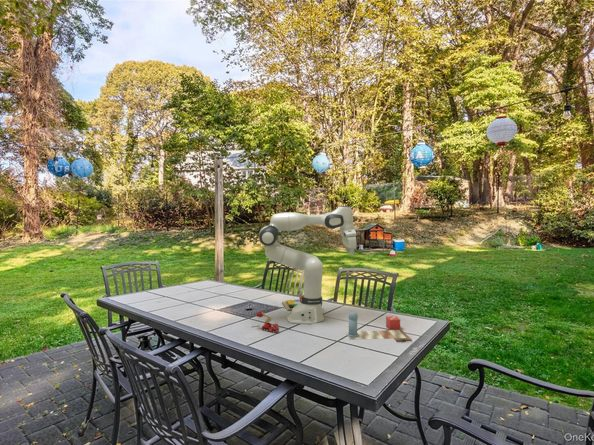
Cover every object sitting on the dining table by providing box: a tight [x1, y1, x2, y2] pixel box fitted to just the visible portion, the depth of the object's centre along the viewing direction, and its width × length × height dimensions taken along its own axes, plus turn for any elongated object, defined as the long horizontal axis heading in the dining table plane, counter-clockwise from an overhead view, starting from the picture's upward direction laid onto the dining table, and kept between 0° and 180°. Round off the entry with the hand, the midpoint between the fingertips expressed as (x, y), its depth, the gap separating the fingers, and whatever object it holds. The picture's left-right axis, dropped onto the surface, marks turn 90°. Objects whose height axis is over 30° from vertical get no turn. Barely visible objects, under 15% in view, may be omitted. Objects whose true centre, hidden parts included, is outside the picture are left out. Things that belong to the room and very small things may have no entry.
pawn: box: [347, 311, 359, 338], centre depth 176 cm, size 6×6×13 cm
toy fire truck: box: [256, 311, 280, 334], centre depth 187 cm, size 3×14×10 cm, turn 60°
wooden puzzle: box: [281, 298, 300, 312], centre depth 233 cm, size 18×19×4 cm
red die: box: [385, 315, 401, 330], centre depth 190 cm, size 6×6×6 cm
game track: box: [345, 328, 413, 343], centre depth 177 cm, size 34×14×1 cm, turn 94°
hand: (350, 254), depth 205 cm, fingers open, 8 cm apart
